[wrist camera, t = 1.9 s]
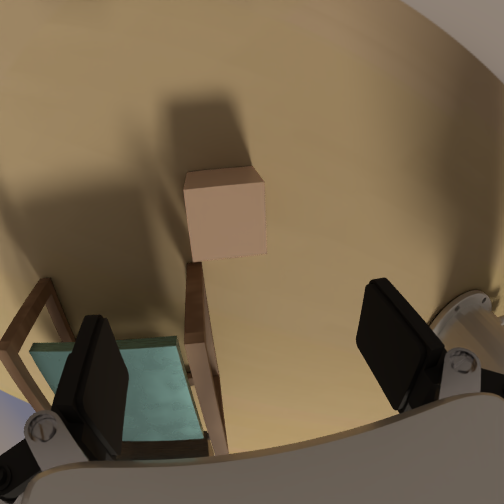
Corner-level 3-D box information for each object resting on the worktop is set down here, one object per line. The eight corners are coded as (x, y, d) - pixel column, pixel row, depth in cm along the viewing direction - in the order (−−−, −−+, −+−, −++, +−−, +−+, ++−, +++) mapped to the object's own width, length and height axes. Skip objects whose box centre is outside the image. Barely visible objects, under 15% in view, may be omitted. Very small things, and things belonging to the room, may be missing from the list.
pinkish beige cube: (252, 166, 24) (264, 182, 20) (255, 226, 27) (266, 254, 22) (186, 172, 24) (183, 190, 19) (193, 232, 26) (193, 262, 22)
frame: (201, 261, 27) (204, 342, 18) (219, 377, 34) (228, 455, 25) (40, 278, 25) (-6, 350, 17) (88, 384, 32) (72, 455, 23)
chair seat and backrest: (177, 320, 22) (175, 364, 19) (213, 452, 32) (217, 484, 28) (40, 329, 21) (21, 367, 17) (117, 454, 30) (115, 485, 26)
